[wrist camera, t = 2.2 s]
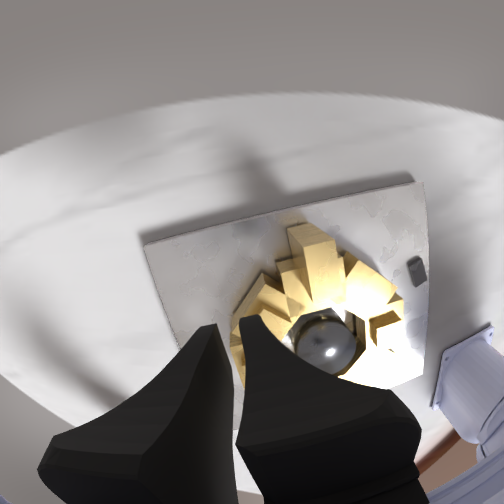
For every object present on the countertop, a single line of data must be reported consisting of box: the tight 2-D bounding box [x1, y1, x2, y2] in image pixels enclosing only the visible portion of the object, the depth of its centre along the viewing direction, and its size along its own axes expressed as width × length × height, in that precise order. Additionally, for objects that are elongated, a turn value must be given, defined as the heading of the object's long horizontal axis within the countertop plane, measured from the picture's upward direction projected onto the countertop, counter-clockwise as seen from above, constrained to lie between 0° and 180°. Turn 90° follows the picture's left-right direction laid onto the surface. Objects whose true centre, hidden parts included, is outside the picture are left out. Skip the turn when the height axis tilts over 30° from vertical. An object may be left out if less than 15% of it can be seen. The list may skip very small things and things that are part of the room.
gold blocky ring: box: [230, 223, 403, 389], centre depth 18 cm, size 14×12×5 cm
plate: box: [143, 181, 429, 430], centre depth 20 cm, size 18×20×4 cm
